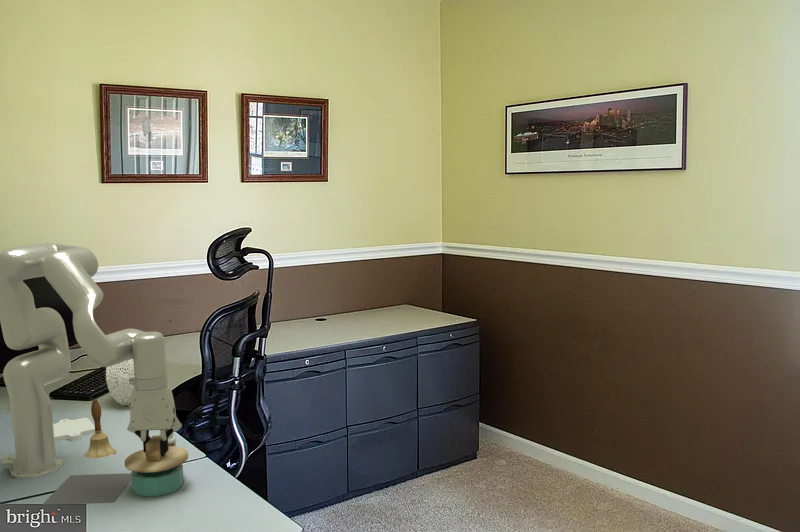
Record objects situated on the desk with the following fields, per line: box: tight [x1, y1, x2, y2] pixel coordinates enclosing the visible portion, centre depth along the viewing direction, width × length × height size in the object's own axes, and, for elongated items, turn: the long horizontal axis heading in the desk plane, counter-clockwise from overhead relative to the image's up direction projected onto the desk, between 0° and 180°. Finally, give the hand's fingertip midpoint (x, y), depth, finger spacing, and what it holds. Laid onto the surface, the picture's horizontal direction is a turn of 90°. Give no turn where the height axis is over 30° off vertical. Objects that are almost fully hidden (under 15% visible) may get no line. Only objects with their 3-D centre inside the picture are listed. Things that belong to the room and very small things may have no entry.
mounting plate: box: [53, 417, 95, 442], centre depth 229 cm, size 18×13×2 cm
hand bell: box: [84, 398, 117, 459], centre depth 210 cm, size 8×8×16 cm
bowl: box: [130, 463, 185, 497], centre depth 187 cm, size 12×12×5 cm
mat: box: [41, 472, 132, 506], centre depth 187 cm, size 17×17×1 cm
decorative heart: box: [105, 359, 134, 408], centre depth 253 cm, size 18×11×17 cm, turn 35°
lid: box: [124, 434, 189, 473], centre depth 186 cm, size 15×15×5 cm
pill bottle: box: [159, 431, 177, 447], centre depth 207 cm, size 4×4×8 cm
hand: (156, 453), depth 186 cm, fingers closed on lid, 3 cm apart
